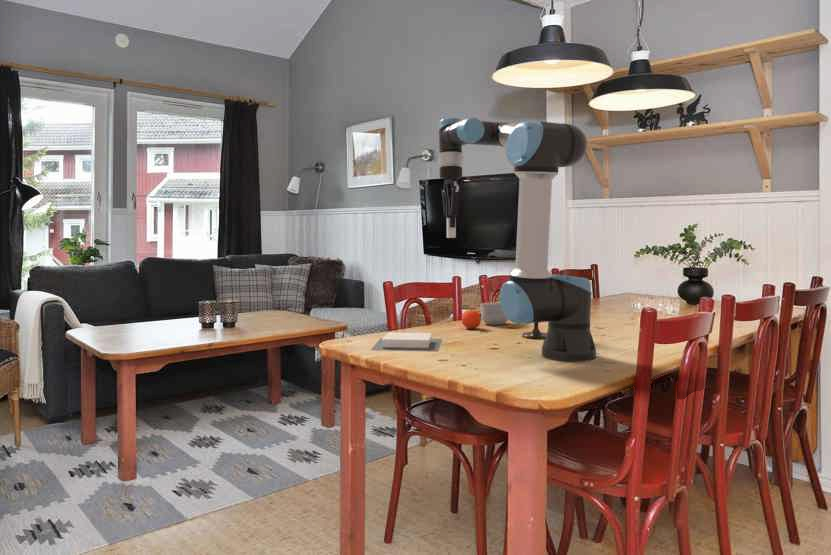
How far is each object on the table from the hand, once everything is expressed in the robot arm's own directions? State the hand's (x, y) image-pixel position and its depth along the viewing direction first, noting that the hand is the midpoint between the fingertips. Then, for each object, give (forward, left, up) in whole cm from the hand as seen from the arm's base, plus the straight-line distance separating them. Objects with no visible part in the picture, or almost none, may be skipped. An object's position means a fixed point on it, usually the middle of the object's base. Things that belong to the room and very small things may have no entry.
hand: (451, 237), depth 219 cm
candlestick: (-10, -27, -33) cm, 44 cm away
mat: (-15, +18, -33) cm, 40 cm away
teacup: (+19, -25, -33) cm, 46 cm away
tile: (-10, +17, -31) cm, 36 cm away
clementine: (+11, -11, -33) cm, 37 cm away
